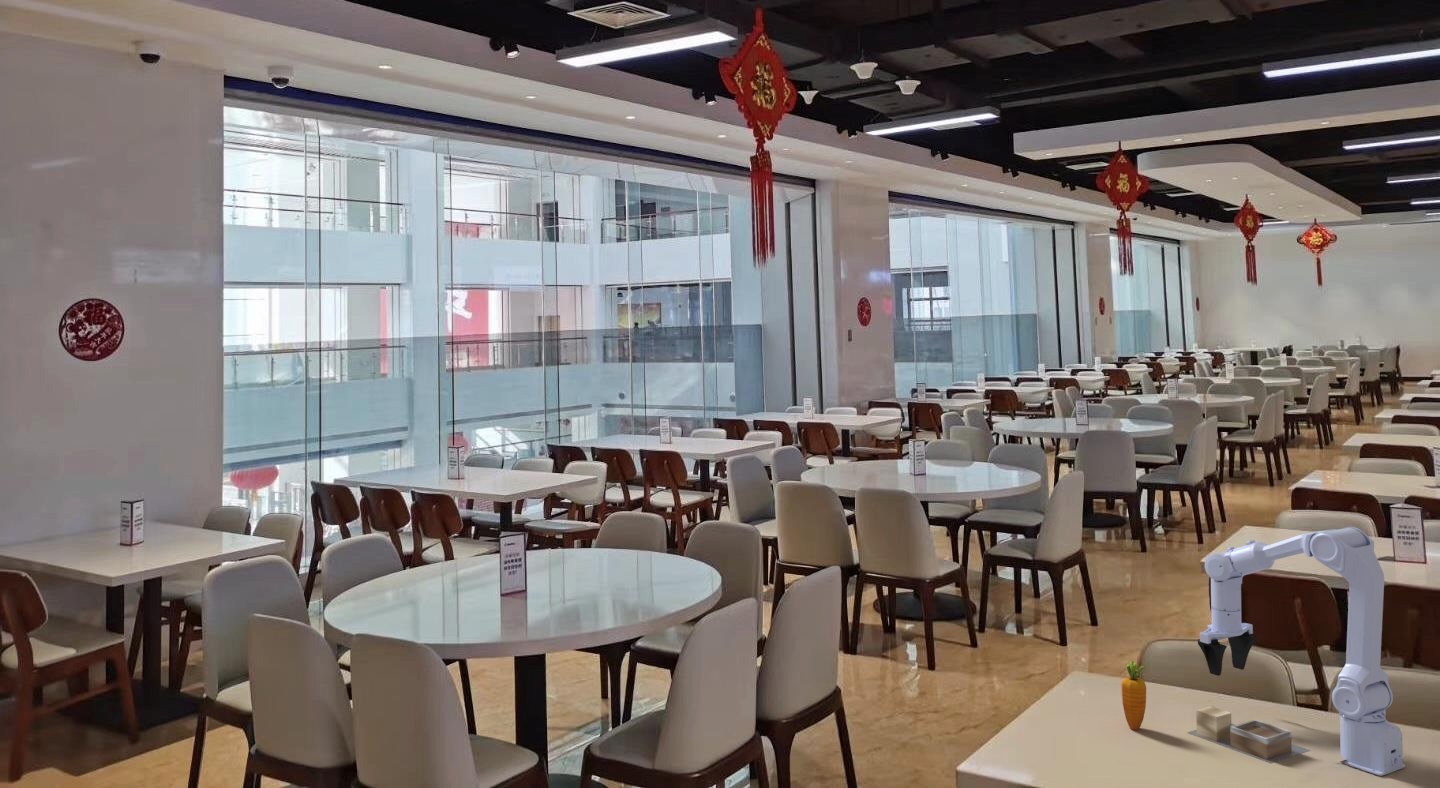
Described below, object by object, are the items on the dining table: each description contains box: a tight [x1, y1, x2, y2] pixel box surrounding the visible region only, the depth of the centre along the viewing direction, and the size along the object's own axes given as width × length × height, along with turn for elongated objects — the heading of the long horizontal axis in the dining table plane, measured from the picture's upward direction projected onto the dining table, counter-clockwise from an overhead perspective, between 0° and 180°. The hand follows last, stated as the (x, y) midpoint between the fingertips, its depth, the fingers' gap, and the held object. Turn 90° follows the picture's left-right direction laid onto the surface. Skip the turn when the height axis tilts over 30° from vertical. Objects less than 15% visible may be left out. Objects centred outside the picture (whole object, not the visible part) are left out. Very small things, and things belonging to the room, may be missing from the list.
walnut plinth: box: [1230, 719, 1293, 760], centre depth 192 cm, size 8×8×4 cm
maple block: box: [1196, 705, 1232, 742], centre depth 200 cm, size 4×4×5 cm
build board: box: [1186, 722, 1311, 764], centre depth 197 cm, size 18×12×1 cm, turn 27°
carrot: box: [1120, 661, 1147, 731], centre depth 205 cm, size 5×5×15 cm
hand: (1227, 671), depth 212 cm, fingers open, 7 cm apart
